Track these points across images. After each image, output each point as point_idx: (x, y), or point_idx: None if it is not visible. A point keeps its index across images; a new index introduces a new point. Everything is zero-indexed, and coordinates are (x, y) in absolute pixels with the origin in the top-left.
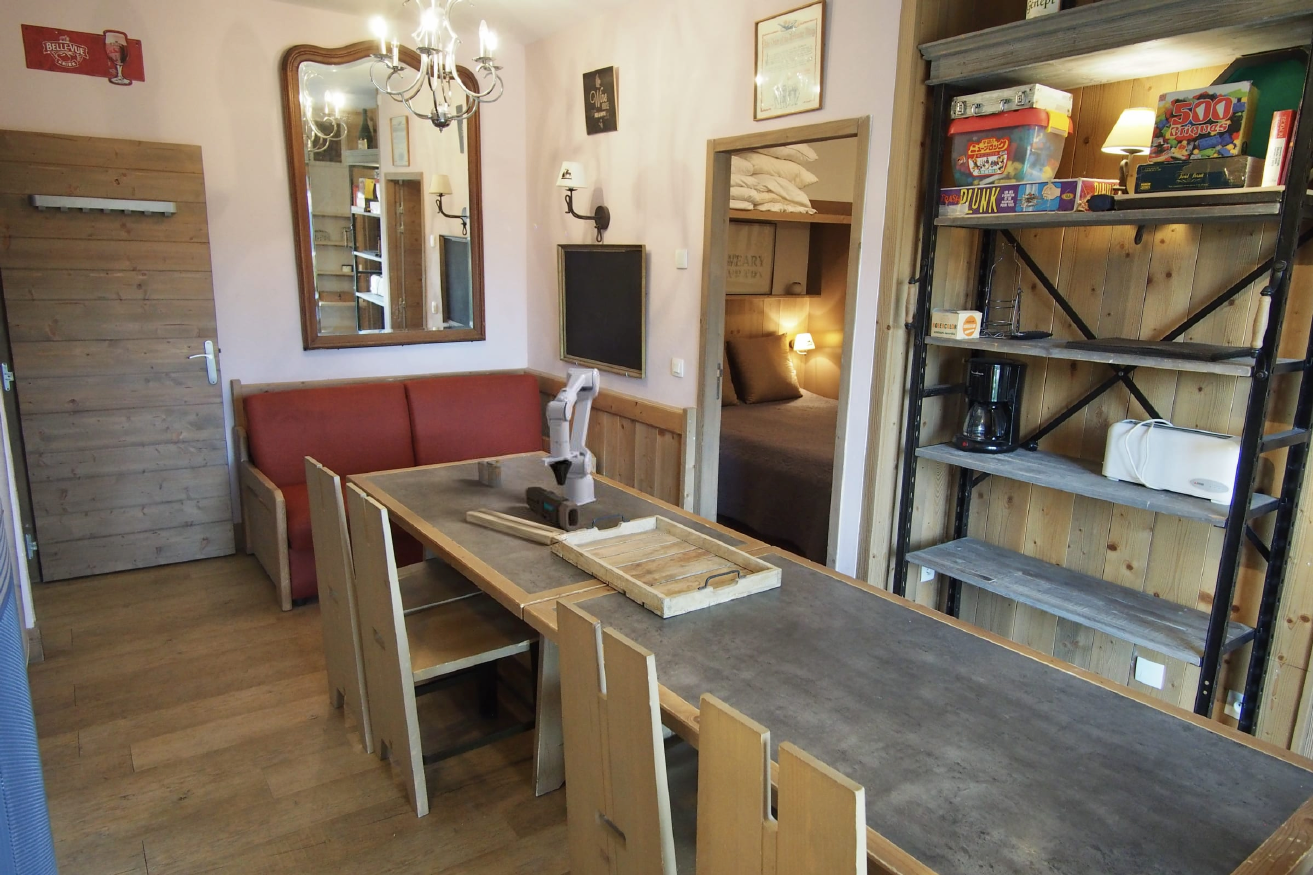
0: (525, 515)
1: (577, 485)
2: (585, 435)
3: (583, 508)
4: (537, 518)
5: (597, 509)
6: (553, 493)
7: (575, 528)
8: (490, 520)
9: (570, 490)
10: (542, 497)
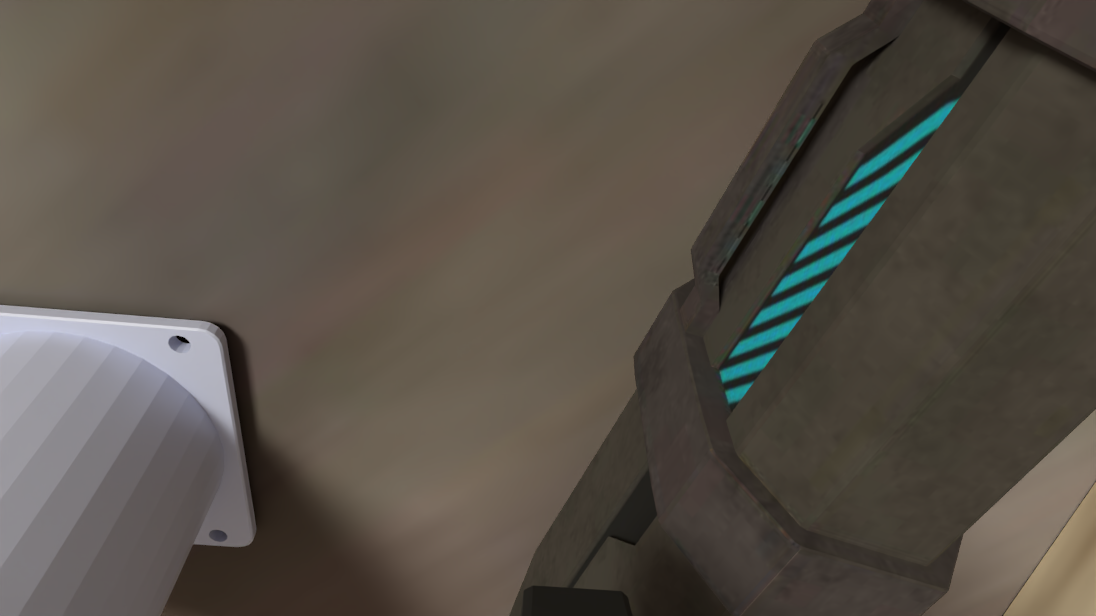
0: None
1: (2, 557)
2: None
3: (179, 217)
4: None
5: (44, 19)
6: (796, 524)
7: None
8: None
9: (138, 551)
10: (955, 552)
